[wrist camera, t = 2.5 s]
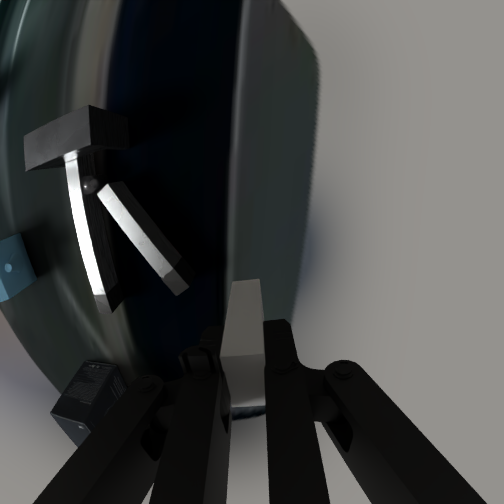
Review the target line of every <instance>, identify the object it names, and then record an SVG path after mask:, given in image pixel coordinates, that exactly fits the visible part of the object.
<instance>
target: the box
mask: <svg viewBox="0 0 504 504" xmlns="http://www.w3.org/2000/svg"><path fill="white" fill-rule="evenodd" d="M126 389H127V386H126V384H125V382H124V380H123V378H122V376H121V374H120V372H119V370H118V367H117V365H110V364H104V363H96V362H89V361H85V362H84V363H83V364H82V366H81V367H80V369H79V370H78V371H77V373H76V374H75V376H74V377H73V379H72V380H71V382H70V383H69V385H68V386H67V388H66V389H65V390H64V392H63V393H62V395H61V396H60V398H59V399H58V401H57V403H56V404H55V406H54V408H53V409H52V411H51V412H50V414H51V415H52V417H53V418H54V419H55V421H56V422H57V423H58V424H59V426H60V427H61V428H62V429H63V430H64V432H65V433H66V434H67V435H68V436H69V438H70V439H71V440H72V441H73V442H74V443H75V445H76V446H77V447H79V446H80V445H81V444H82V442H83V441H84V440H85V439H86V438H87V436H88V435H89V434H90V433H91V432H92V430H93V429H94V428H95V427H96V425H97V424H98V423H99V422H100V421H101V419H102V418H103V417H104V416H105V415H106V413H107V412H108V411H109V410H110V409H111V407H112V406H113V405H114V404H115V403H116V401H117V400H118V399H119V398H120V397H121V395H122V394H123V393H124V392H125V391H126Z"/></svg>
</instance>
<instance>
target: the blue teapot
mask: <svg viewBox="0 0 504 504" xmlns="http://www.w3.org/2000/svg"><path fill="white" fill-rule="evenodd" d="M36 280H37V277H36V275H35V273H34V269H33V267H32V265H31V262H30V260H29V257H28V254H27V251H26V248H25V246H24V242H23V239H22V236H21V233H18V234H15V235H13V236H11V237H8V238H6V239H4V240H1V241H0V302H2V301H5V300H8V299H10V298H12V297H13V296H15V295H16V294H17V293H19V292H20V291H22V290H23V289H24V288H26V287H27V286H29V285H30V284H32V283H33V282H35V281H36Z"/></svg>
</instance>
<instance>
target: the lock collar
mask: <svg viewBox="0 0 504 504" xmlns="http://www.w3.org/2000/svg"><path fill="white" fill-rule="evenodd" d="M129 148H130V141H129V130H128V118H127V117H125V116H122V115H119V114H116V113H113V112H110V111H107V110H103V109H100V108H97V107H94V106H91V105H87V106H84V107H82V108H80V109H77V110H75V111H73V112H71V113H68V114H66V115H64V116H62V117H60V118H58V119H56V120H54V121H52V122H50V123H48V124H46V125H44V126H42V127H40V128H38V129H36V130H34V131H33V132H31V133H29V134H27V135H26V136H24V152H25V166H26V171H31V170H39V169H49V168H59V167H66V164H65V162H68V161H70V160H73V159H76V158H79V157H82V156H85V155H87V154H90V153H93V152H97V151H100V150H103V149H114V150H125V149H129Z"/></svg>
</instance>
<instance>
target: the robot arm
mask: <svg viewBox="0 0 504 504" xmlns="http://www.w3.org/2000/svg"><path fill="white" fill-rule="evenodd" d="M3 1H6V0H3ZM178 357H179V360H180V363H181V366H182V369H183V372H184V376H183V377H182V378H180V379H177V380H174V381H169V382H163V380H162V379H161V378H160V377H158V376H156V375H144V376H141V377H139V378H137V379H136V380H135V381H133V382H132V383H131V385H130V386H129V387H128V388H127V389H126V391H125V392H124V393H123V394H122V395H121V397H120V398H119V399H118V400H117V401H116V403H115V404H114V405H113V406H112V407H111V409H110V410H109V411H108V412H107V413H106V415H105V416H104V417H103V418H102V419H101V421H100V422H99V423H98V424H97V425H96V427H95V428H94V429H93V430H92V432H91V433H90V434H89V435H88V436H87V438H86V439H85V440H84V441H83V442H82V444H81V445H80V446H79V447H78V449H77V450H76V451H75V452H74V454H73V455H72V456H71V457H70V458H69V459H68V461H67V462H66V463H65V465H64V466H63V467H62V468H61V469H60V471H59V472H58V473H57V474H56V475H55V477H54V478H53V479H52V480H51V482H50V483H49V484H48V485H47V487H46V488H45V489H44V490H43V492H42V493H41V494H40V495H39V496H38V498H37V499H36V500H35V502H34V503H33V504H141V503H142V502H143V500H144V498H145V496H146V495H147V493H148V491H149V490H150V488H151V486H152V485H153V483H154V485H153V489H152V494H151V497H150V502H149V504H226V498H227V481H228V467H229V452H230V437H231V422H232V416H231V411H230V400H231V404H232V407H245V406H260V405H265V406H266V427H267V451H268V476H269V503H270V504H330V500H329V494H328V489H327V484H326V478H325V473H324V468H323V463H322V458H321V453H320V448H319V443H318V438H317V433H316V428H315V423H314V421H318V422H321V423H322V425H323V427H324V428H325V430H326V432H327V433H328V435H329V437H330V438H331V440H332V441H333V443H334V445H335V446H336V448H337V450H338V451H339V453H340V454H341V456H342V458H343V459H344V461H345V463H346V464H347V466H348V467H349V469H350V471H351V472H352V474H353V475H354V477H355V478H356V480H357V482H358V483H359V485H360V486H361V488H362V489H363V491H364V492H365V494H366V495H367V497H368V499H369V500H370V502H371V503H372V504H487V503H486V502H485V501H484V500H483V499H482V498H481V497H480V496H479V494H478V493H477V492H476V491H475V490H474V489H473V488H472V487H471V486H470V485H469V484H468V482H467V481H466V480H465V479H464V478H463V477H462V476H461V475H460V474H459V473H458V471H457V470H456V469H455V468H454V467H453V466H452V465H451V464H450V463H449V462H448V461H447V460H446V458H445V457H444V456H443V455H442V454H441V453H440V452H439V451H438V450H437V449H436V448H435V447H434V445H432V443H431V442H430V441H429V440H428V439H427V438H426V437H425V436H424V435H423V434H422V432H421V431H419V429H418V428H417V427H416V426H415V425H414V424H413V423H412V422H411V420H410V419H409V418H408V417H407V416H406V415H405V414H404V413H403V412H402V411H401V410H400V408H399V407H398V406H397V405H396V404H395V403H394V402H393V401H392V400H391V399H390V398H389V397H388V396H387V395H386V393H385V392H384V391H383V390H382V389H381V388H380V387H379V386H378V385H377V384H376V383H375V381H374V380H373V379H372V378H371V377H370V376H369V375H368V374H367V373H366V372H365V371H364V370H363V368H362V367H361V366H360V365H358V364H357V363H355V362H352V361H349V360H339V361H334V362H333V363H331V364H329V365H328V366H327V367H326V368H325V370H317V369H310V368H308V367H305V366H304V365H302V364H301V363H300V361H299V359H298V356H297V351H296V348H295V343H294V339H293V334H292V329H291V325H290V324H289V323H288V322H287V321H286V320H285V319H279V320H270V321H264V315H263V306H262V297H261V288H260V279H254V280H244V281H234V282H232V286H231V292H230V298H229V304H228V310H227V316H226V322H225V325H223V326H208V328H207V329H206V330H205V331H204V332H203V333H202V336H201V341H200V343H199V345H197V346H192V347H189V348H187V349H185V350H184V351H182V352H181V353H180V355H179V356H178Z"/></svg>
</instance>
